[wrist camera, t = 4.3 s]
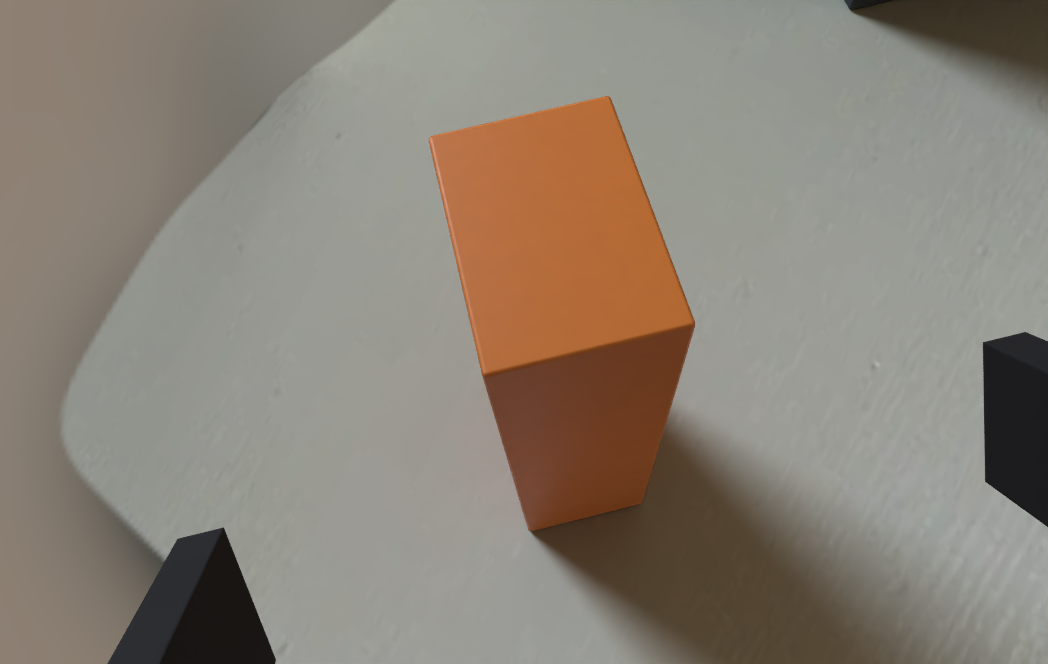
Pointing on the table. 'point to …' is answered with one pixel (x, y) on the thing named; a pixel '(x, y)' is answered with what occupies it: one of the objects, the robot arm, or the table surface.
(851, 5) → the bin
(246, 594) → the robot arm
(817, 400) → the table surface
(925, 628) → the table surface
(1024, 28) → the table surface
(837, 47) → the table surface
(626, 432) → the block
